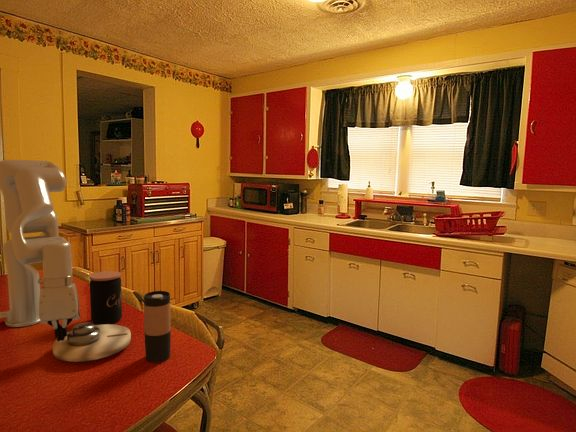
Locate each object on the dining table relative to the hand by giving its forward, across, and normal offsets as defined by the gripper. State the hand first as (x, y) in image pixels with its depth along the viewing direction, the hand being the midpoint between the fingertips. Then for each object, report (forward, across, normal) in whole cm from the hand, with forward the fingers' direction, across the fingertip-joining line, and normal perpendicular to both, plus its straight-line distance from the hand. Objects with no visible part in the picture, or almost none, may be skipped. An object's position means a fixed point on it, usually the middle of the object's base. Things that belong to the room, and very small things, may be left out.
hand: (61, 339), depth 116 cm
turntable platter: (+3, +9, 0) cm, 9 cm away
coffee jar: (+5, +11, +24) cm, 27 cm away
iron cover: (+1, +6, 0) cm, 6 cm away
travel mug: (+5, +28, -12) cm, 31 cm away
